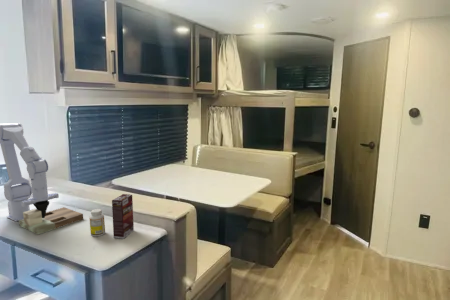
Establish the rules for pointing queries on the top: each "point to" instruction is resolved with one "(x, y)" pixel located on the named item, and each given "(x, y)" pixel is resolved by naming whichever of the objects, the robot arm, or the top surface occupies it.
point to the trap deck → (54, 220)
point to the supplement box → (122, 216)
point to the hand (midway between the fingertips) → (42, 217)
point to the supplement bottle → (97, 222)
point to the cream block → (32, 217)
